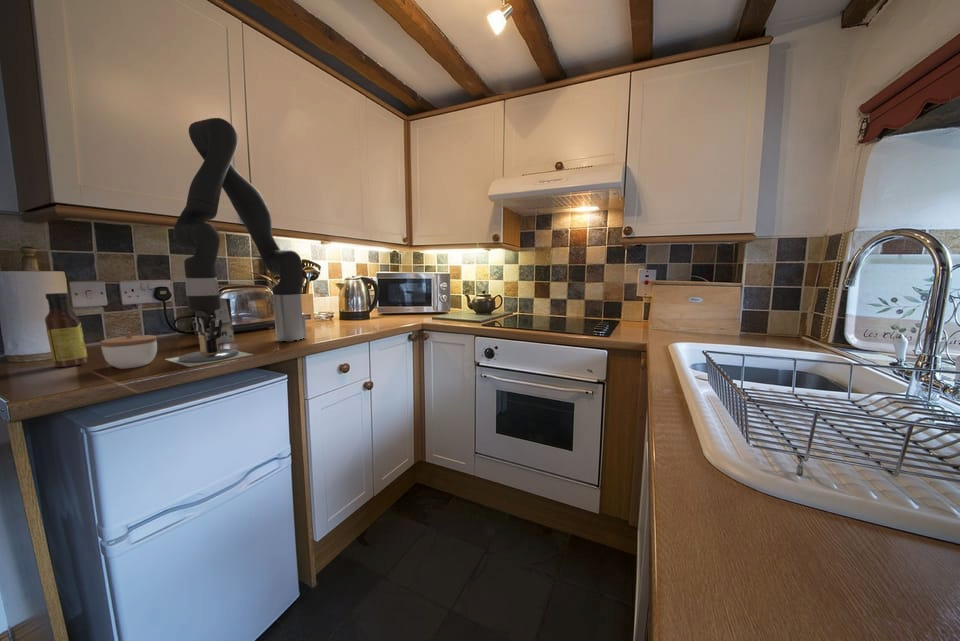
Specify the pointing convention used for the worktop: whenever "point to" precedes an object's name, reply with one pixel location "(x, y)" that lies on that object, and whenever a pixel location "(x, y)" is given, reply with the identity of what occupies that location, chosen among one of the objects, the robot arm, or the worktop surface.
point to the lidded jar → (129, 350)
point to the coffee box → (225, 321)
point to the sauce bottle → (64, 332)
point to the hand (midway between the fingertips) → (209, 351)
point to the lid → (204, 355)
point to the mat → (176, 360)
